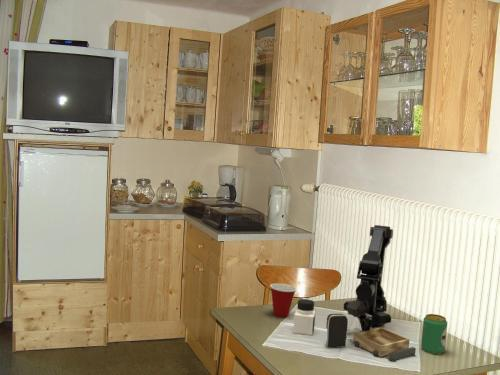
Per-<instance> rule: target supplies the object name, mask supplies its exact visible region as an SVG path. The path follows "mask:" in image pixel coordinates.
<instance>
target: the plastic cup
mask: <svg viewBox="0 0 500 375" xmlns="http://www.w3.org/2000/svg"><path fill="white" fill-rule="evenodd" d="M269 287H270V291H271V292H270V293H271V299H272V300H271V302H272V310H273V315H274V316H275V317H277V318H287V317H289V314H290V310H291V305H292V301H293V298H294V296H295V293H296V292H297V287H295V286H293V285H290V284H285V283H272V284H270V285H269Z"/></svg>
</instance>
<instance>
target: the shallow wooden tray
mask: <svg viewBox="0 0 500 375" xmlns="http://www.w3.org/2000/svg"><path fill="white" fill-rule="evenodd" d="M353 340H354V341H353V345H354V347H360V348H363V349H365V350H367V351H369V352H370V353H372V355H373V356H374V357H377V356H379V357H383V356H389V353H391V352H395V351H399V350H403V349H407V348H410V339H409V338H407V337H405V336H403V335H400V334H398V333H395V332H393V331H391V330H389V329H387V328H384V327H383V326H380V327H376V328H374V329H372V328H371V329H370V330H367V331H363V332H360V331H358V332H355V333H353Z"/></svg>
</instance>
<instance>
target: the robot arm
mask: <svg viewBox="0 0 500 375" xmlns="http://www.w3.org/2000/svg"><path fill="white" fill-rule="evenodd" d="M369 237H371V239H370V242H369V246H368V250H367V252H366V253H365V254H363V255H362V259H361V260H360V261H359V263H358V264H359V265H358V269H357V274H356V279H358V280H360V283H359V284H358V285H357V287H356V289H355V294H356V295H355V296H356V299H355V300H354V299H353V300H348V301H345V302H344V304H343V310H344V311H347V314H348V315H349V316H353V317H354V318H357V319H358V321H359V324H360V328H361V330H362V332H363V331H367V330H371V329H372V328H374V329H375V328H380V327H383V326H385V324H390V323H392V316H391V314H390V313H387V308H388V306H387V299H386V296H385V291H384V289H383V286H382V281H383V280H382V279H383V273H384V272H383V271H384V264H385V258H386V255H385V254H386V249H387V247H389V245H390V244H391V240H392V239H393V238H394V229H393V228H391V226H387V225H379V224H375V225H374V226H370V231H369Z"/></svg>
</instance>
